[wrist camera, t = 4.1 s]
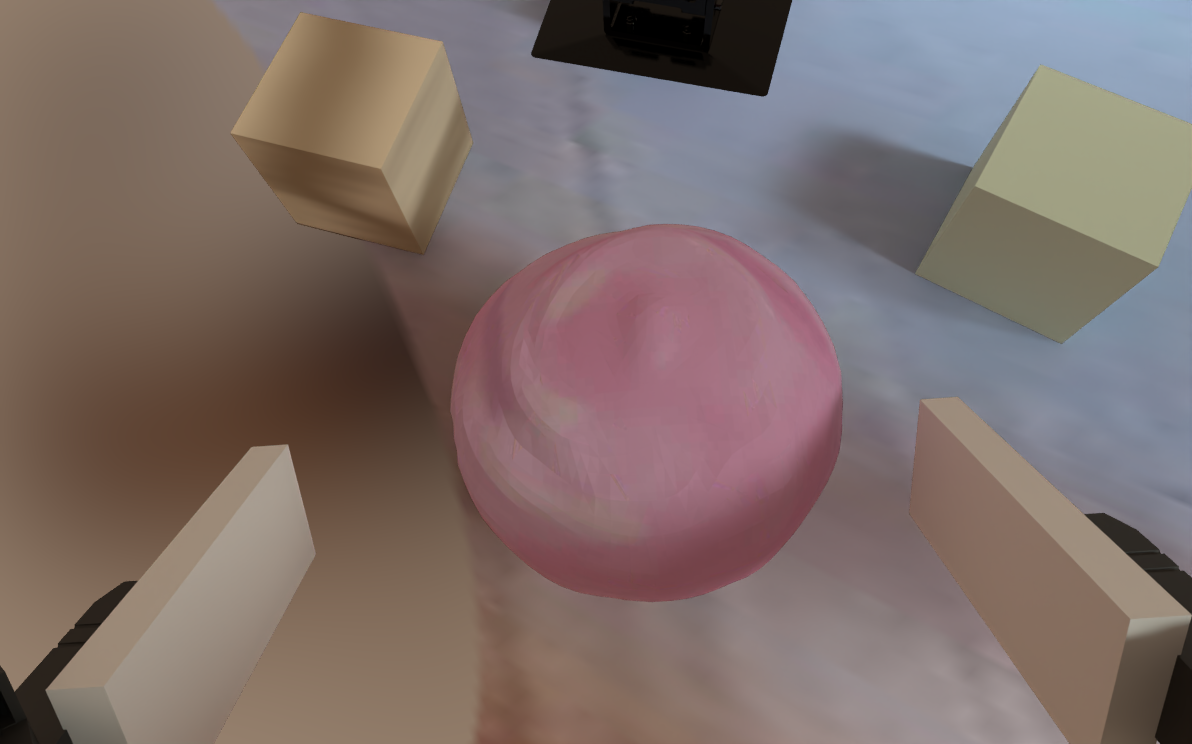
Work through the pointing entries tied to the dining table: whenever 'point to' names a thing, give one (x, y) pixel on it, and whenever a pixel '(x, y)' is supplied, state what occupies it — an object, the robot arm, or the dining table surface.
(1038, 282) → the sage block
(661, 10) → the black piece
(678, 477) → the cupcake
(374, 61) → the birch block
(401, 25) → the dining table surface
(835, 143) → the dining table surface
